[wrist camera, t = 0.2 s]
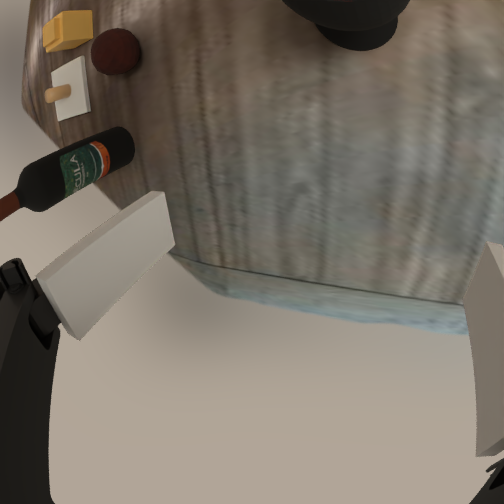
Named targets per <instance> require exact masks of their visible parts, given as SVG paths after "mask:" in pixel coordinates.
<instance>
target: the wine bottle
mask: <svg viewBox="0 0 504 504" xmlns="http://www.w3.org/2000/svg"><path fill="white" fill-rule="evenodd" d="M134 152H135V147H134V142H133V139H132V137H131V135H130V133H129V132H128V131H127V130H126V129H124V128H122V127H115V128H112V129H109V130H106V131H104V132H101V133H98V134H96V135H93V136H91V137H88V138H86V139H83V140H81V141H78V142H76V143H74V144H71V145H69V146H67V147H64V148H62V149H60V150H58V151H55V152H53V153H51V154H49V155H47V156H45V157H43V158H41V159H39V160H37V161H35V162H33V163H31V164H29V165H28V166H26V167H25V168H24V169H23V171H22V172H21V174H20V177H19V180H18V185H17V188H16V189H15V190H14V191H12V192H11V193H9V194H8V195H6V196H4V197H3V198H1V199H0V221H2V220H3V219H5V218H6V217H8V216H9V215H11V214H12V213H14V212H15V211H17V210H18V209H20V208H23V207H26V208H28V209H30V210H32V211H35V212H43V211H45V210H47V209H49V208H50V207H52V206H54V205H55V204H57V203H58V202H60V201H62V200H63V199H65V198H67V197H68V196H70V195H72V194H73V193H75V192H76V191H78V190H80V189H82V188H84V187H86V186H87V185H89V184H91V183H93V182H94V181H96V180H98V179H100V178H102V177H104V176H106V175H107V174H109V173H111V172H113V171H115V170H117V169H119V168H121V167H123V166H125V165H127V164H129V163H130V162H131V161H132V159H133V157H134Z"/></svg>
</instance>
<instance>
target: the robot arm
mask: <svg viewBox="0 0 504 504" xmlns="http://www.w3.org/2000/svg"><path fill="white" fill-rule="evenodd" d="M174 245H175V242H174V237H173V232H172V228H171V223H170V218H169V213H168V208H167V203H166V198H165V192H160V191H151V192H149V193H148V194H146V195H144V196H143V197H141V198H140V199H138V200H137V201H135V202H134V203H132V204H131V205H129V206H128V207H126V208H125V209H123V210H122V211H120V212H119V213H117V214H116V215H114V216H113V217H112V218H110V219H109V220H107V221H106V222H104V223H103V224H102V225H100V226H99V227H97V228H96V229H95V230H93V231H92V232H90V233H89V234H88V235H86V236H85V237H84V238H82V239H81V240H80V241H78V242H77V243H76V244H74V245H73V246H72V247H70V248H69V249H68V250H67V251H65V252H64V253H63V254H61V255H60V256H59V257H58V258H56V259H55V260H54V261H53V262H52V263H50V264H49V265H48V266H47V267H46V268H44V269H43V270H42V271H41V272H39V273H38V274H37V275H36V279H34V280H33V281H31V279H30V277H29V275H28V273H27V271H26V269H25V267H24V265H23V263H22V260H21V259H20V258H14V259H12V260H9V261H7V262H6V263H4V264H3V265H2V266H1V267H0V504H55V503H54V502H53V501H52V498H51V495H50V485H49V459H48V458H49V457H48V447H49V418H50V405H51V393H52V384H53V376H54V369H55V362H56V356H57V350H58V344H59V339H60V330H59V328H58V325H59V324H60V323H62V325H63V326H64V328H65V329H66V331H67V333H68V334H70V335H71V336H73V337H74V338H76V339H77V340H79V341H80V340H81V338H83V337H84V335H85V334H86V333H87V332H88V331H89V330H90V329H91V328H92V327H93V326H94V325H95V324H96V323H97V322H98V321H99V320H100V319H101V317H102V316H103V315H104V314H105V313H106V312H107V311H108V310H109V309H110V308H111V307H112V306H113V305H114V304H115V303H116V302H117V301H118V300H119V299H120V298H121V297H122V296H123V295H124V294H125V293H126V292H127V291H128V290H129V289H130V288H131V287H132V286H133V285H134V284H135V283H136V282H137V281H138V280H139V279H140V278H141V277H142V276H143V275H144V274H145V273H146V272H147V271H148V270H149V269H150V268H151V267H152V266H153V265H154V264H155V263H157V262H158V261H159V260H160V259H161V258H162V257H163V256H164V255H165V254H166V253H167V252H168V251H169V250H170V249H171V248H172V247H173V246H174ZM462 300H463V305H464V309H465V314H466V319H467V325H468V330H469V336H470V343H471V349H472V357H473V366H474V376H475V389H476V408H477V409H476V410H477V438H476V440H477V441H476V457H480V456H494V455H497V454H498V453H500V452H501V451H502V450H504V248H503V246H502V245H500V244H496V243H492V242H488V241H486V243H485V246H484V249H483V252H482V254H481V257H480V260H479V262H478V265H477V267H476V270H475V272H474V274H473V277H472V279H471V281H470V284H469V286H468V288H467V290H466V293H465V295H464V297H463V299H462ZM495 468H496V469H495ZM493 469H495V471H494V472H493V473H492V474H491V475H490V478H489V479H488V480H487V482H486V483H485V485H484V486H483V487H482V488H481V490H480V491H479V493H478V494H477V495H476V496H475V497H474V499H473V500H472V501H471V502H470V503H469V504H504V458H503V459H501V460H500V461H498V462H496V463H495V464H493V465H491V466H490V467H489V468H488V469H487V470H486V472H489V471H491V470H493Z"/></svg>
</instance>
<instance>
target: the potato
mask: <svg viewBox="0 0 504 504" xmlns="http://www.w3.org/2000/svg"><path fill="white" fill-rule="evenodd" d="M139 56H140V49H139V45H138V41H137V39H136V38H135V37H134V35H133V34H132V33H131V32H130V31H128V30H124V29H119V28H115V29H111V30H107V31H105V32H103V33H102V34H100V35H99V36H98V37H97V38H96V39H95V41H94V43H93V44H92V48H91V59H92V63H93V65H94V66H95V68H96V69H97V71H99V72H101V73H104V74H106V75H114V74H122V73H124V72H126V71H128V70H130V69H132V68H133V67H134V66H135V65H136V63H137V62H138V59H139Z"/></svg>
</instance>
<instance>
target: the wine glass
mask: <svg viewBox="0 0 504 504" xmlns="http://www.w3.org/2000/svg"><path fill="white" fill-rule="evenodd" d="M282 1H283V2H284V3H285V4H286V5H287V6H288V7H290V8H291V9H292V10H293V11H295V12H296V13H297V14H299V15H301V16H302V17H304V18H306V19H308V20H310V21H312V22H314V23H315V24H316V26H317V28H318V29H319V31H320V32H321V33H322V34H323V35H324V36H325V37H326V38H327V39H329V40H330V41H331V42H333V43H335V44H337V45H338V46H341V47H343V48H347V49H351V50H358V51H366V50H372V49H375V48H378V47H380V46H382V45H384V44H385V43H386V42H388V41H389V40H390V39H391V38H392V36H393V35H394V33H395V31H396V28H397V23H398V15H399V14H400V13H401V12H402V11H403V10H404V9H405V8H406V6H407V4H408V3H409V1H410V0H282Z"/></svg>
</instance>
